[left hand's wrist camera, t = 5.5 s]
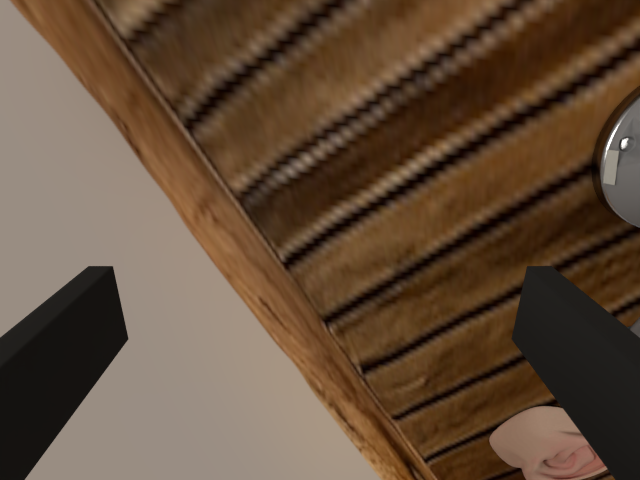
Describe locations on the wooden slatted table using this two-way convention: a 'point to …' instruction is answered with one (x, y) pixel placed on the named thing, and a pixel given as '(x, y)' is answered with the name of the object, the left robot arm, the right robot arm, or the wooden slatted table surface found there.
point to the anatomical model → (546, 446)
